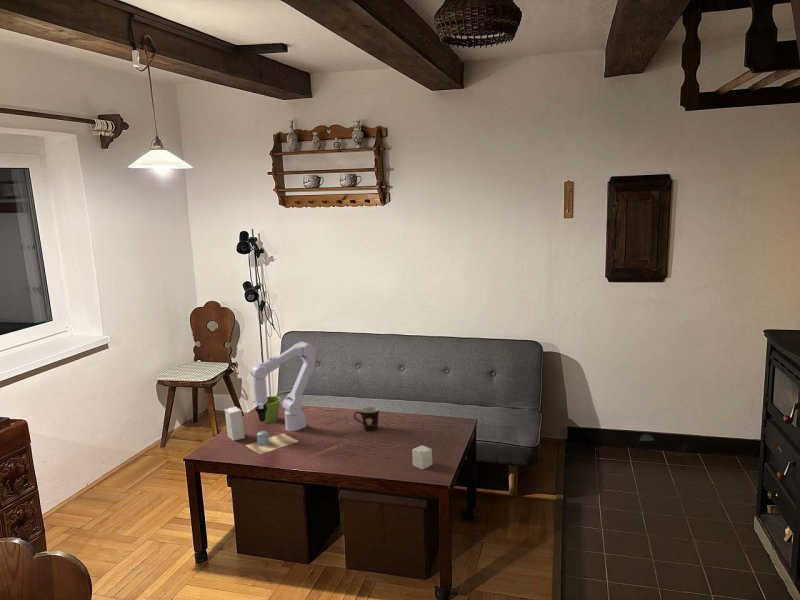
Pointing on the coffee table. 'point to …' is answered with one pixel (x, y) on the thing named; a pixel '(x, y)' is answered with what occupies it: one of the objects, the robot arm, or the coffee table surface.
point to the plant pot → (272, 409)
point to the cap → (262, 438)
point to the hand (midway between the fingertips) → (262, 418)
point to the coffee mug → (369, 418)
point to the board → (272, 443)
